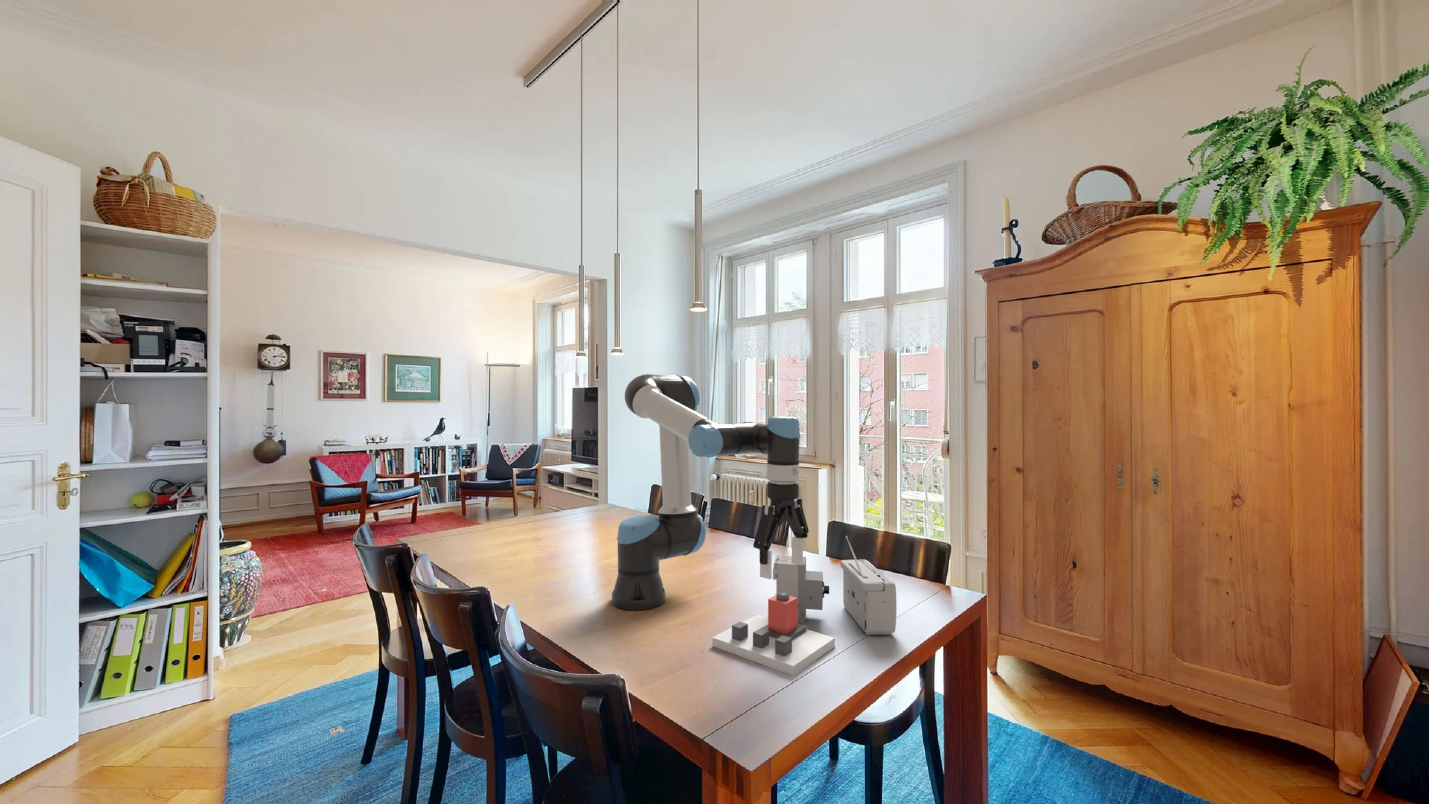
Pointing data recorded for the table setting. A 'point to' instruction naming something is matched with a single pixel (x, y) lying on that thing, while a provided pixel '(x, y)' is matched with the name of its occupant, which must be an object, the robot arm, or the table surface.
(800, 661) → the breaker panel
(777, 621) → the cap
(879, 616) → the stereo radio cassette player
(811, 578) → the circuit breaker
